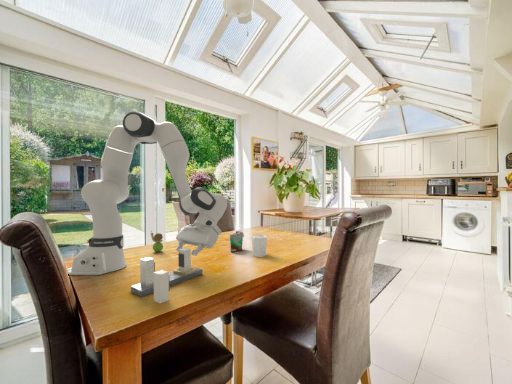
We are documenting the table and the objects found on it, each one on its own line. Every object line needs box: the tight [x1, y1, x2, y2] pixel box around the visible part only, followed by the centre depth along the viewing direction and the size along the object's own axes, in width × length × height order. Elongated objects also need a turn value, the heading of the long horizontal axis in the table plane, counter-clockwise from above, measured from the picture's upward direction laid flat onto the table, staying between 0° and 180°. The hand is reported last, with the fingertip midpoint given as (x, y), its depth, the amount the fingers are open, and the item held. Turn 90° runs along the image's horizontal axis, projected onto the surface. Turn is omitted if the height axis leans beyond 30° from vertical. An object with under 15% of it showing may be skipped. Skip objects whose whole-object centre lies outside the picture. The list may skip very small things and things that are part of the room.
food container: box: [229, 230, 245, 253], centre depth 138 cm, size 12×6×10 cm, turn 168°
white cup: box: [251, 234, 268, 258], centre depth 128 cm, size 8×8×10 cm
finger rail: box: [130, 256, 203, 298], centre depth 91 cm, size 26×7×11 cm, turn 145°
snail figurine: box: [150, 230, 164, 253], centre depth 135 cm, size 5×6×12 cm
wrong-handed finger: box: [153, 269, 171, 305], centre depth 77 cm, size 4×4×9 cm
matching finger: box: [177, 247, 192, 272], centre depth 97 cm, size 4×4×9 cm
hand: (185, 253), depth 97 cm, fingers open, 8 cm apart
